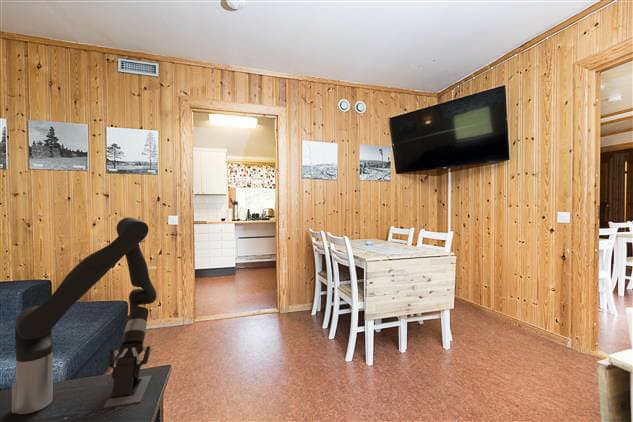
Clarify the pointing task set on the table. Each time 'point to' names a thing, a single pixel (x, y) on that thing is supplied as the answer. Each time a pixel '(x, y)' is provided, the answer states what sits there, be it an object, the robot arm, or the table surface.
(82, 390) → the table surface
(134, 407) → the table surface
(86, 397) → the table surface
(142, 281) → the robot arm
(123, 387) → the phone stand
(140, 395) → the bracket
